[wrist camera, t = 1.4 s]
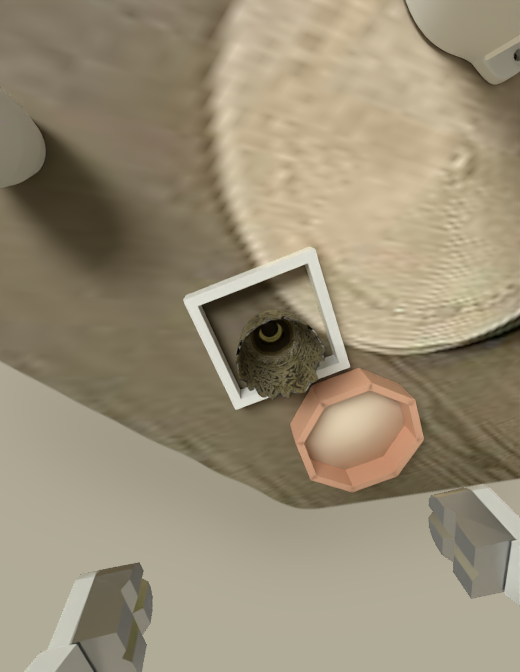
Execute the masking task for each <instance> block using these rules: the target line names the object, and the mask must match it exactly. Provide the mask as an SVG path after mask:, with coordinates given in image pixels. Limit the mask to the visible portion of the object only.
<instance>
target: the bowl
mask: <svg viewBox="0 0 520 672" xmlns="http://www.w3.org/2000/svg"><path fill="white" fill-rule="evenodd" d="M290 425H291V429H292V432H293V436H294V439H295V442H296V445H297V448H298V450H299V452H300V455H301V457H302V460H303V462H304V465H305V467H306V469H307V472H308V474H309V477H310V479H311V480H312V481H316V482H319V483H323V484H326V485H329V486H333V487H336V488H339V489H343V490H346V491H350V492H355V491H357V490H360V489H363V488H366V487H369V486H371V485H374V484H377V483H380V482H383V481H385V480H388V479H391V478H394V477H397V476H398V475H399V473H400V472H401V471H402V469H403V468H404V466H405V465H406V464H407V462H408V461H409V459H410V458H411V457H412V455H413V454H414V453H415V451H416V450H417V448H418V447H419V446H420V444H421V443H422V442H423V440H424V437H423V433H422V428H421V424H420V419H419V415H418V410H417V406H416V401H415V399H414V398H413V397H412V396H411V395H410V394H409V393H408V392H407V391H406V390H405V389H404V388H403V387H402V386H401V385H400V384H399V383H396V382H394V381H391V380H389V379H386V378H384V377H381V376H379V375H376V374H374V373H371V372H369V371H366V370H364V369H361V368H357V369H354V370H351V371H349V372H346V373H343V374H341V375H338V376H335V377H333V378H330V379H327V380H324V381H322V382H319V383H316V384H314V385H312V386H311V388H310V390H309V391H308V393H307V395H306V397H305V399H304V400H303V402H302V404H301V406H300V407H299V409H298V411H297V413H296V415H295V416H294V418H293V420H292V422H291V423H290Z"/></svg>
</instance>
